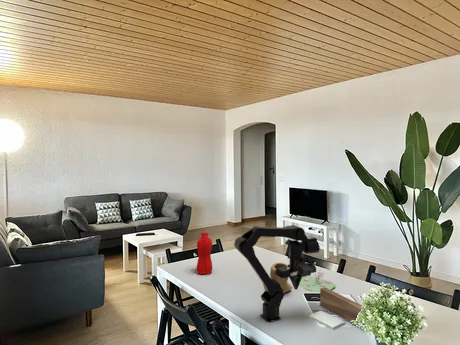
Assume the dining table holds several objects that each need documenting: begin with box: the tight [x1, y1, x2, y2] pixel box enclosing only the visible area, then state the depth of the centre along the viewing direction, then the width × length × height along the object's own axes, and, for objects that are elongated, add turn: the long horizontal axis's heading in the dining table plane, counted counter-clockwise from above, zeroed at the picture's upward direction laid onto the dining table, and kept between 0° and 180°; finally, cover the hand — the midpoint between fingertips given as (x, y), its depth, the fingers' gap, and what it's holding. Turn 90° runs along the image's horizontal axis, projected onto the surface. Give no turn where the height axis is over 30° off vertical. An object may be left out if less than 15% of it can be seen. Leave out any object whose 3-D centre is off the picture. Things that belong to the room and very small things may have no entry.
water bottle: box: [196, 232, 213, 276], centre depth 188 cm, size 9×11×25 cm
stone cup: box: [269, 262, 293, 294], centre depth 159 cm, size 15×12×15 cm
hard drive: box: [308, 310, 346, 331], centre depth 129 cm, size 2×8×12 cm
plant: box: [299, 271, 336, 293], centre depth 171 cm, size 25×21×9 cm
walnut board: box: [319, 287, 363, 323], centre depth 132 cm, size 3×26×8 cm, turn 26°
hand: (295, 289), depth 135 cm, fingers closed
